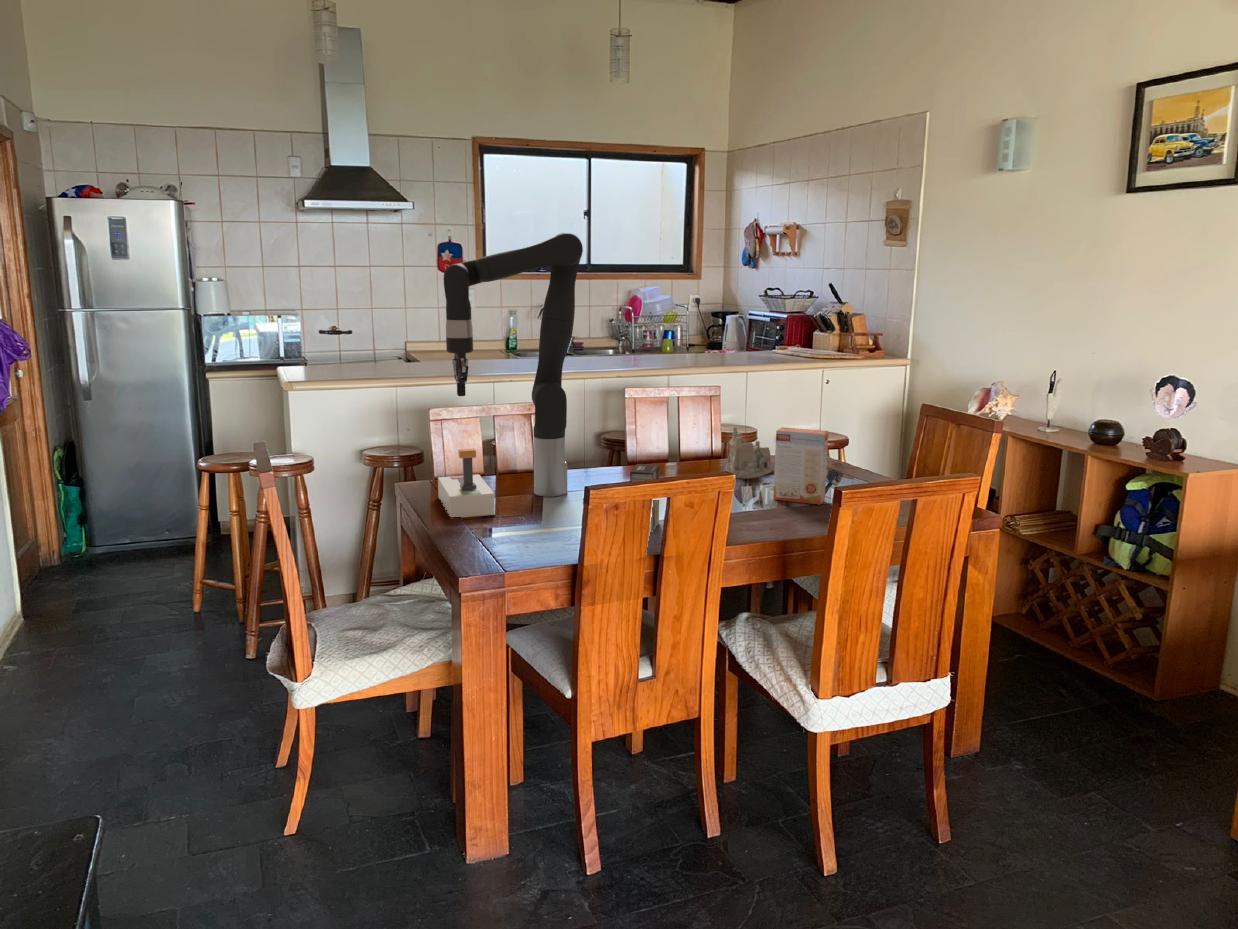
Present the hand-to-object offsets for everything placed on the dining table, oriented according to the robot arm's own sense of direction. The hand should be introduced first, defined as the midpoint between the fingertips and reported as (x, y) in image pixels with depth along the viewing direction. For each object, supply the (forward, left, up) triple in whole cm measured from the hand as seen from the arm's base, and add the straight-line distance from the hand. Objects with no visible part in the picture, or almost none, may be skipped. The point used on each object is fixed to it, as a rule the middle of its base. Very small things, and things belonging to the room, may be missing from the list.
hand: (461, 395), depth 268 cm
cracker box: (-91, +37, -29) cm, 102 cm away
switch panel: (+2, +14, -29) cm, 32 cm away
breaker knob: (+2, +19, -23) cm, 30 cm away
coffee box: (-39, +48, -29) cm, 68 cm away
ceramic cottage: (-92, +2, -29) cm, 97 cm away
